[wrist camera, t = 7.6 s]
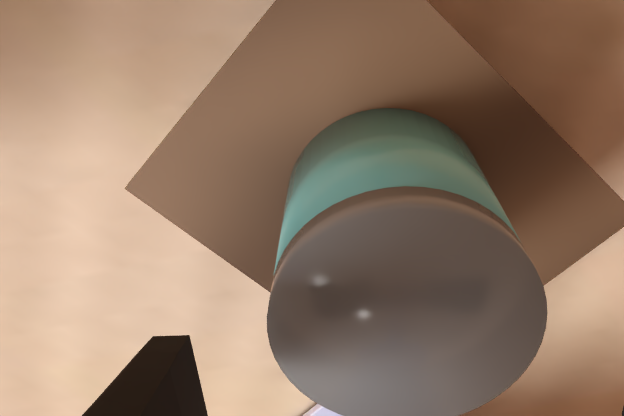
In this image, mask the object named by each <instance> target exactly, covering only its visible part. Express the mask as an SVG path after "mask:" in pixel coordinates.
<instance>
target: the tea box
mask: <svg viewBox="0 0 624 416" xmlns="http://www.w3.org/2000/svg"><path fill="white" fill-rule="evenodd" d="M379 108H400V109H406V110H412V111H416V112H419V113H423V114H426V115H428V116H430V117H432V118H435V119H437V120H439V121H440V122H442V123H443V124H445V125H447V126H448V127H449V128H451V129H452V130H453V131H454V132H455V133H457V134H458V135H459V136H460V138H461V139H462V140H463V141H464V142H465V143H466V145H467V146H468V148H469V149H470V151H471V152H472V154H473V156H474V158H475V159H476V161H477V163H478V165H479V167H480V168H481V170H482V172H483V174H484V176H485V178H486V179H487V181H488V183H489V185H490V187H491V188H492V190H493V192H494V194H495V196H496V198H497V199H498V201H499V203H500V205H501V207H502V208H503V210H504V212H505V214H506V216H507V218H508V219H509V221H510V223H511V225H512V227H513V228H514V230H515V232H516V234H517V236H518V238H519V239H520V241H521V243H522V245H523V247H524V248H525V250H526V252H527V254H528V256H529V258H530V259H531V261H532V263H533V265H534V267H535V268H536V270H537V272H538V275H539V277H540V279H541V282H542V284H543V286H544V285H545V284H546V283H548V282H549V281H550V280H552V279H553V278H555V277H556V276H557V275H559V274H560V273H561V272H563V271H564V270H566V269H567V268H568V267H570V266H571V265H572V264H574V263H575V262H576V261H578V260H579V259H581V258H582V257H583V256H585V255H586V254H587V253H589V252H590V251H591V250H593V249H594V248H596V247H597V246H598V245H600V244H601V243H602V242H604V241H605V240H607V239H608V238H609V237H611V236H612V235H613V234H615V233H616V232H617V231H619V230H620V229H622V228H623V227H624V201H623V200H622V199H621V198H620V197H619V196H618V195H617V194H616V193H615V192H614V191H613V190H612V189H611V188H610V186H609V185H608V184H607V183H606V182H605V181H604V180H603V179H602V178H601V177H600V176H599V175H598V174H597V173H596V172H595V171H594V170H593V169H592V168H591V167H590V166H589V165H588V164H587V163H586V162H585V161H584V160H583V159H582V158H581V157H580V156H579V155H578V154H577V153H576V152H575V151H574V150H573V149H572V148H571V147H570V146H569V145H568V144H567V143H566V142H565V141H564V140H563V139H562V138H561V137H560V136H559V135H558V134H557V133H556V132H555V131H554V129H553V128H552V127H551V126H550V125H549V124H548V123H547V122H546V121H545V120H544V119H543V118H542V117H541V116H540V115H539V114H538V113H537V112H536V111H535V110H534V109H533V108H532V107H531V106H530V105H529V104H528V103H527V102H526V101H525V100H524V99H523V98H522V97H521V96H520V95H519V94H518V93H517V92H516V91H515V90H514V89H513V88H512V87H511V86H510V85H509V84H508V83H507V82H506V81H505V80H504V79H503V78H502V77H501V76H500V75H499V74H498V72H497V71H496V70H495V69H494V68H493V67H492V66H491V65H490V64H489V63H488V62H487V61H486V60H485V59H484V58H483V57H482V56H481V55H480V54H479V53H478V52H477V51H476V50H475V49H474V48H473V47H472V46H471V45H470V44H469V43H468V42H467V41H466V40H465V39H464V38H463V37H462V36H461V35H460V34H459V33H458V32H457V31H456V30H455V29H454V28H453V27H452V26H451V25H450V24H449V23H448V22H447V21H446V20H445V19H444V18H443V17H442V15H441V14H440V13H439V12H438V11H437V10H436V9H435V8H434V7H433V6H432V5H431V4H430V3H429V2H428V1H427V0H276V1H275V2H274V3H273V5H272V6H271V7H270V8H269V10H268V11H267V12H266V13H265V15H264V16H263V17H262V18H261V19H260V21H259V22H258V23H257V24H256V26H255V27H254V28H253V29H252V31H251V32H250V33H249V34H248V36H247V37H246V38H245V39H244V41H243V42H242V43H241V44H240V46H239V47H238V48H237V49H236V50H235V52H234V53H233V54H232V55H231V57H230V58H229V59H228V60H227V62H226V63H225V64H224V65H223V67H222V68H221V69H220V70H219V72H218V73H217V74H216V75H215V77H214V78H213V79H212V80H211V82H210V83H209V84H208V85H207V86H206V88H205V89H204V90H203V91H202V93H201V94H200V95H199V96H198V98H197V99H196V100H195V101H194V103H193V104H192V105H191V106H190V108H189V109H188V110H187V111H186V113H185V114H184V115H183V116H182V117H181V119H180V120H179V121H178V122H177V124H176V125H175V126H174V127H173V129H172V130H171V131H170V132H169V134H168V135H167V136H166V137H165V139H164V140H163V141H162V142H161V144H160V145H159V146H158V147H157V148H156V150H155V151H154V152H153V153H152V155H151V156H150V157H149V158H148V160H147V161H146V162H145V163H144V165H143V166H142V167H141V168H140V170H139V171H138V172H137V173H136V175H135V176H134V177H133V178H132V180H131V181H130V182H129V183H128V185H127V186H126V187H125V189H126V190H127V191H129V192H130V193H131V194H133V195H134V196H136V197H137V198H138V199H140V200H141V201H143V202H144V203H145V204H147V205H148V206H150V207H151V208H153V209H154V210H155V211H157V212H158V213H160V214H161V215H162V216H164V217H165V218H167V219H168V220H169V221H171V222H172V223H174V224H175V225H176V226H178V227H179V228H181V229H182V230H183V231H185V232H186V233H188V234H189V235H190V236H192V237H193V238H195V239H196V240H197V241H199V242H200V243H202V244H203V245H204V246H206V247H207V248H209V249H210V250H212V251H213V252H214V253H216V254H217V255H219V256H220V257H221V258H223V259H224V260H226V261H227V262H228V263H230V264H231V265H233V266H234V267H235V268H237V269H238V270H240V271H241V272H242V273H244V274H245V275H247V276H248V277H249V278H251V279H252V280H254V281H255V282H256V283H258V284H259V285H261V286H262V287H264V288H265V289H266V290H268V291H269V292H271V288H272V282H273V276H274V270H275V264H276V258H277V252H278V246H279V240H280V234H281V228H282V222H283V215H284V209H285V203H286V197H287V191H288V185H289V180H290V177H291V173H292V170H293V168H294V165H295V163H296V161H297V159H298V157H299V156H300V154H301V153H302V151H303V150H304V148H305V147H306V146H307V145H308V144H309V142H310V141H311V140H312V139H313V138H314V137H315V136H316V135H317V134H319V133H320V132H321V131H322V130H323V129H325V128H326V127H328V126H329V125H331V124H332V123H334V122H336V121H338V120H340V119H342V118H344V117H346V116H349V115H352V114H354V113H357V112H361V111H366V110H370V109H379Z"/></svg>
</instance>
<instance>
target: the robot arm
mask: <svg viewBox="0 0 624 416" xmlns="http://www.w3.org/2000/svg"><path fill="white" fill-rule="evenodd" d="M82 416H208V415H207V410H206V406H205V402H204V397H203V393H202V388H201V384H200V380H199V375H198V371H197V367H196V362H195V358H194V353H193V349H192V345H191V340H190V336H189V335H183V336H153V337H152V338H151V339H150V340H149V341H148V342H147V343H146V345H145V346H144V347H143V348H142V349H141V350H140V351H139V352H138V353H137V354H136V356H135V357H134V358H133V359H132V360H131V361H130V362H129V363H128V365H127V366H126V367H125V368H124V369H123V370H122V371H121V373H120V374H119V375H118V376H117V377H116V378H115V379H114V380H113V382H112V383H111V384H110V385H109V386H108V387H107V388H106V389H105V391H104V392H103V393H102V394H101V395H100V396H99V397H98V398H97V400H96V401H95V402H94V403H93V404H92V405H91V406H90V407H89V408H88V409H87V411H86V412H85V413H84V414H83V415H82ZM302 416H343V415H340V414H337V413H335V412H333V411H331V410H329V409H326V408H324V407H323V406H321V405H319V404H316V405H315V406H314V407H313V408H311V409H310V410H309V411H308V412H306V413H305V414H304V415H302ZM622 416H624V407H623V411H622Z"/></svg>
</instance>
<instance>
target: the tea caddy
mask: <svg viewBox="0 0 624 416" xmlns="http://www.w3.org/2000/svg"><path fill="white" fill-rule="evenodd" d="M546 321H547V301H546V296H545V291H544V287H543V284H542V282H541V279H540V277H539V275H538V272H537V270H536V268H535V267H534V265H533V263H532V261H531V259H530V258H529V256H528V254H527V252H526V250H525V248H524V247H523V245H522V243H521V241H520V239H519V238H518V236H517V234H516V232H515V230H514V228H513V227H512V225H511V223H510V221H509V219H508V218H507V216H506V214H505V212H504V210H503V208H502V207H501V205H500V203H499V201H498V199H497V198H496V196H495V194H494V192H493V190H492V188H491V187H490V185H489V183H488V181H487V179H486V178H485V176H484V174H483V172H482V170H481V168H480V167H479V165H478V163H477V161H476V159H475V158H474V156H473V154H472V152H471V151H470V149H469V148H468V146H467V145H466V143H465V142H464V141H463V140H462V139H461V138H460V136H459V135H458V134H457V133H455V132H454V131H453V130H452V129H451V128H449V127H448V126H447V125H445V124H443V123H442V122H440V121H439V120H437V119H435V118H432V117H430V116H428V115H426V114H423V113H419V112H416V111H412V110H406V109H400V108H379V109H370V110H366V111H361V112H357V113H354V114H352V115H349V116H346V117H344V118H342V119H340V120H338V121H336V122H334V123H332V124H331V125H329V126H328V127H326V128H325V129H323V130H322V131H321V132H320V133H319V134H317V135H316V136H315V137H314V138H313V139H312V140H311V141H310V142H309V144H308V145H307V146H306V147H305V148H304V150H303V151H302V153H301V154H300V156H299V157H298V159H297V161H296V163H295V165H294V168H293V170H292V173H291V177H290V180H289V185H288V191H287V197H286V203H285V209H284V215H283V222H282V228H281V234H280V240H279V246H278V252H277V258H276V264H275V270H274V276H273V282H272V288H271V294H270V300H269V307H268V314H267V332H268V337H269V343H270V346H271V349H272V352H273V355H274V357H275V359H276V361H277V363H278V365H279V366H280V368H281V370H282V371H283V373H284V374H285V375H286V376H287V378H288V379H289V380H290V382H291V383H293V384H294V385H295V386H296V387H297V388H298V389H299V390H300V391H301V392H302V393H303V394H305V395H306V396H307V397H308V398H310V399H311V400H313V401H314V402H316V403H318V404H319V405H321V406H323V407H324V408H326V409H329V410H331V411H333V412H335V413H337V414H340V415H343V416H459V415H462V414H465V413H467V412H469V411H471V410H474V409H476V408H478V407H480V406H482V405H484V404H486V403H487V402H489V401H491V400H493V399H494V398H495V397H497V396H498V395H500V394H501V393H502V392H504V391H505V390H506V389H508V388H509V387H510V386H511V385H512V384H513V383H514V382H515V381H516V380H517V379H518V378H519V377H520V376H521V375H522V374H523V373H524V371H525V370H526V369H527V368H528V366H529V365H530V363H531V362H532V360H533V359H534V357H535V356H536V353H537V351H538V349H539V347H540V345H541V343H542V339H543V336H544V332H545V329H546Z"/></svg>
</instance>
